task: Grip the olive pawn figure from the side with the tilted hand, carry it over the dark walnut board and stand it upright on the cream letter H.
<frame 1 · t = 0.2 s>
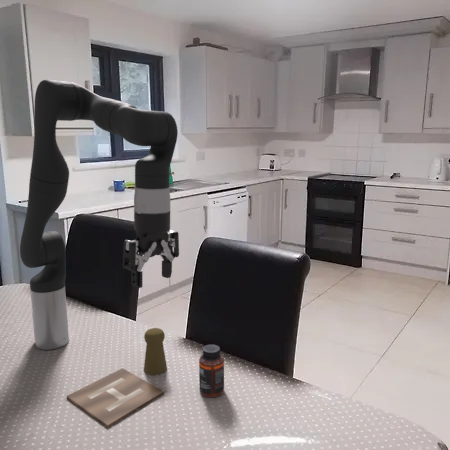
hand: (152, 282, 94), 29 cm above the table, tool pointing down, fingers open, 8 cm apart
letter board: (116, 395, 102), on the table
olive pawn figure: (155, 369, 114), on the table
supplement bottle: (211, 392, 104), on the table
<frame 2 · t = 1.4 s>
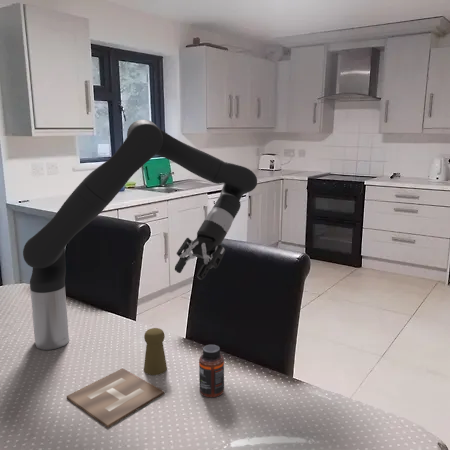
hand: (187, 274, 118), 23 cm above the table, tool tilted 45°, fingers open, 8 cm apart
nothing on the table moved.
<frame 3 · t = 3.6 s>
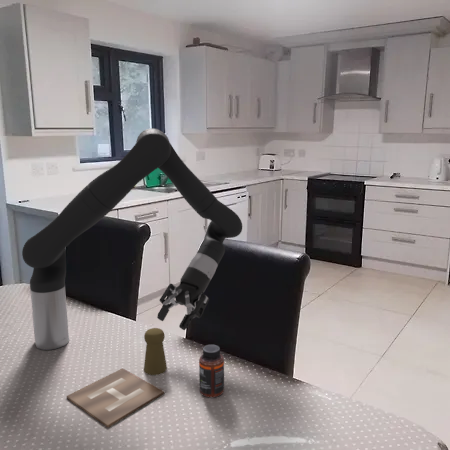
hand: (170, 324, 116), 11 cm above the table, tool tilted 45°, fingers open, 8 cm apart
nothing on the table moved.
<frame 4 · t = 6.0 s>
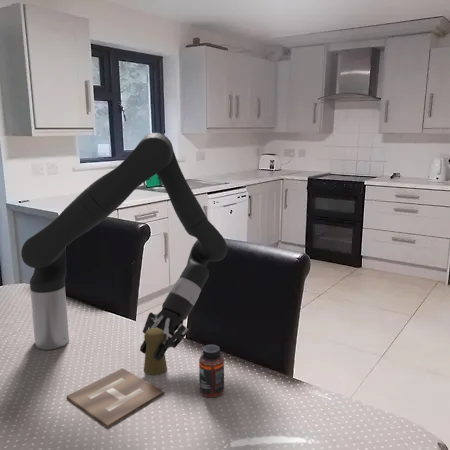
hand: (149, 355, 112), 5 cm above the table, tool tilted 45°, fingers closed on olive pawn figure, 4 cm apart
olive pawn figure: (155, 369, 114), on the table, touching gripper
everything else where it was.
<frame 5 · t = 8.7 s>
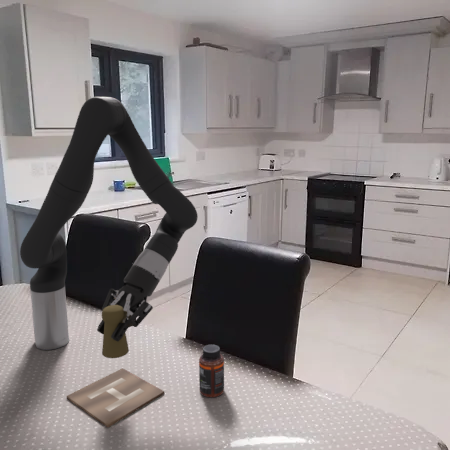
hand: (107, 335, 98), 16 cm above the table, tool tilted 45°, fingers closed on olive pawn figure, 4 cm apart
olive pawn figure: (115, 352, 100), point 11 cm above the table, touching gripper
everything else where it was.
when the fingers open (7 cm above the table, at t = 11.4 s): olive pawn figure drops 1 cm, resting on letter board.
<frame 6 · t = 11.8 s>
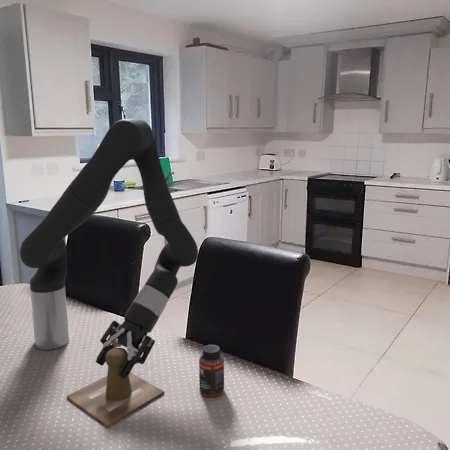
hand: (109, 370, 100), 7 cm above the table, tool tilted 45°, fingers open, 8 cm apart
olive pawn figure: (118, 394, 102), resting on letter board
everything else where it was.
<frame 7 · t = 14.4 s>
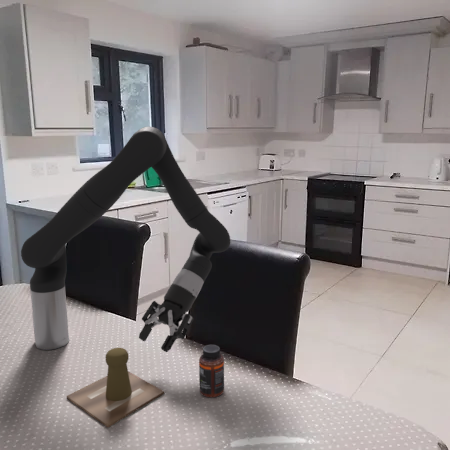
hand: (152, 345, 110), 8 cm above the table, tool tilted 45°, fingers open, 8 cm apart
nothing on the table moved.
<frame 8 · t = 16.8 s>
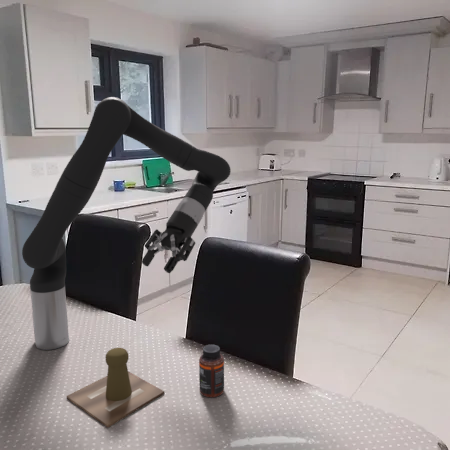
hand: (155, 268, 112), 27 cm above the table, tool tilted 45°, fingers open, 8 cm apart
nothing on the table moved.
at the end: olive pawn figure 0.6 cm off-centre on the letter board, point 0.4 cm above the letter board's base; olive pawn figure tilted 0°; the gripper is holding nothing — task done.
